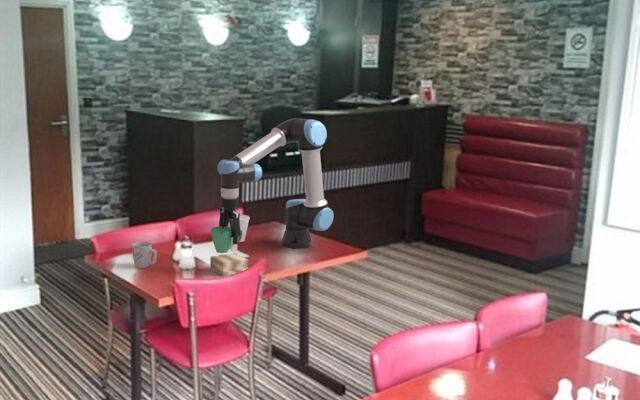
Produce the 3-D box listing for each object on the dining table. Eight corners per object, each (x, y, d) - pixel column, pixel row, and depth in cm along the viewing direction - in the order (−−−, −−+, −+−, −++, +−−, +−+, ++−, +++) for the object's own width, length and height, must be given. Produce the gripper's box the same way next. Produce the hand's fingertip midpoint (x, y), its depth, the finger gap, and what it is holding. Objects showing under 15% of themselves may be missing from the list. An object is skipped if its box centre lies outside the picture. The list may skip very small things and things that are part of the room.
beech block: (234, 265, 307) (235, 252, 306) (247, 272, 298) (248, 259, 296) (210, 269, 301) (210, 256, 299) (222, 276, 291) (223, 263, 290)
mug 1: (161, 265, 303) (161, 243, 301) (151, 270, 295) (151, 248, 293) (139, 262, 306) (139, 240, 304) (128, 267, 298) (128, 245, 296)
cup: (247, 244, 343) (248, 220, 341) (224, 243, 344) (224, 219, 341) (250, 238, 355) (251, 215, 353) (227, 237, 355) (228, 214, 353)
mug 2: (218, 255, 288) (218, 232, 287) (206, 250, 296) (206, 228, 294) (247, 251, 298) (247, 228, 296) (235, 246, 305) (235, 224, 303)
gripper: (210, 193, 299) (210, 244, 303) (233, 202, 282) (233, 255, 287) (226, 192, 303) (225, 242, 307) (249, 200, 287) (248, 253, 291)
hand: (229, 248), depth 297 cm, fingers closed on mug 2, 8 cm apart
